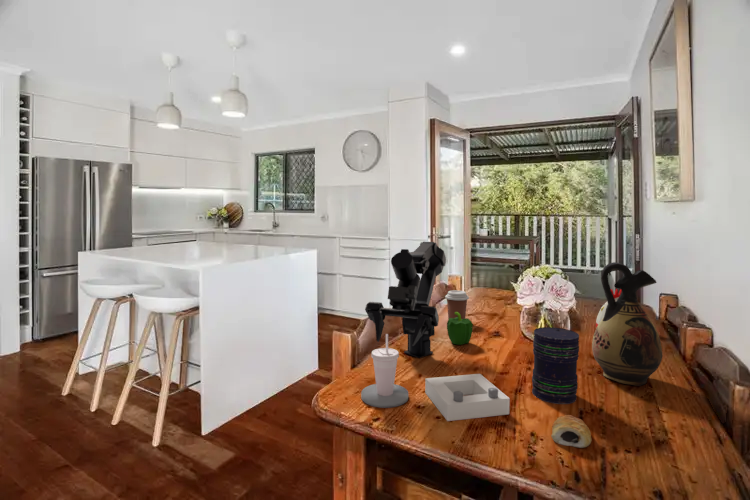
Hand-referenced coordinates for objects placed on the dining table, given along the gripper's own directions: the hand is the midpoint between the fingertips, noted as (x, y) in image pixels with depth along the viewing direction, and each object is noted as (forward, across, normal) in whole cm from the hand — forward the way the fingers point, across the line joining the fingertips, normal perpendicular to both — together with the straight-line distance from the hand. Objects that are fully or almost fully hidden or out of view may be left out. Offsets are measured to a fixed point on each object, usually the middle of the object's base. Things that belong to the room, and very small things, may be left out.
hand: (394, 342), depth 104 cm
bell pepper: (-20, +10, +35) cm, 42 cm away
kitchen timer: (-46, +63, +61) cm, 99 cm away
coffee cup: (-38, +5, +54) cm, 67 cm away
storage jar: (+3, +37, +12) cm, 39 cm away
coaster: (+13, 0, +2) cm, 13 cm away
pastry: (+16, +39, -1) cm, 42 cm away
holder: (+11, +18, +4) cm, 21 cm away
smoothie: (+12, 0, +1) cm, 12 cm away
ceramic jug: (-9, +54, +24) cm, 60 cm away
